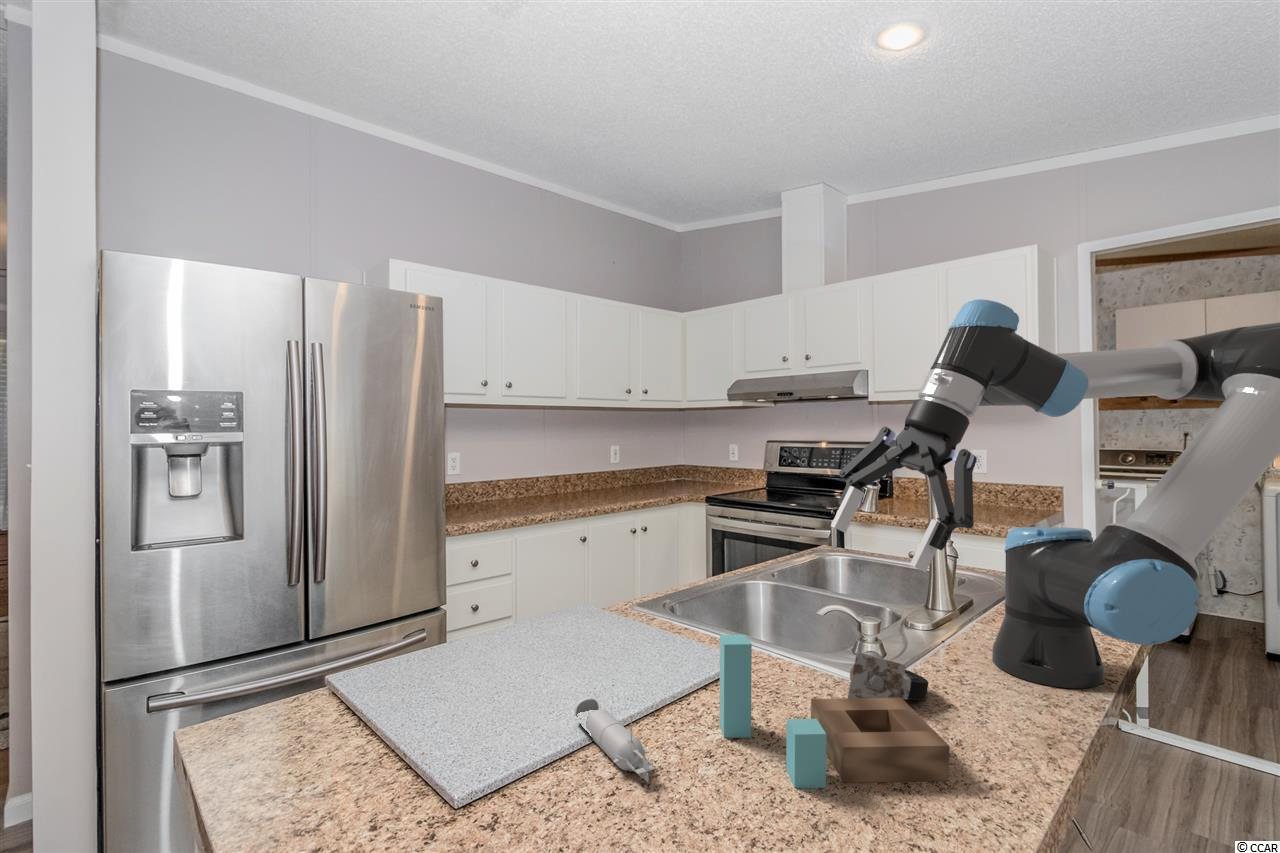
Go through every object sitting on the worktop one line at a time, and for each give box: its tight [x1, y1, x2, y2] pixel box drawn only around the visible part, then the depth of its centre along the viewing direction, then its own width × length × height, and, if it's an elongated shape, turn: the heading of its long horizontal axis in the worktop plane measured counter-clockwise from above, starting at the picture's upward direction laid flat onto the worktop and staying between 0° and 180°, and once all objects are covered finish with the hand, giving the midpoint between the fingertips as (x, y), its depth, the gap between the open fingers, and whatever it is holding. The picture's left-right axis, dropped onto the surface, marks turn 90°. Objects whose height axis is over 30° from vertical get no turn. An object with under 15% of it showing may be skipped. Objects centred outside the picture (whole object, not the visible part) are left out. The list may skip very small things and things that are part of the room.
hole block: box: [810, 697, 950, 784], centre depth 77 cm, size 12×12×4 cm
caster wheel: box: [847, 650, 929, 701], centre depth 93 cm, size 7×11×10 cm
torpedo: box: [574, 697, 655, 783], centre depth 78 cm, size 18×5×7 cm, turn 30°
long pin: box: [719, 634, 753, 739], centre depth 82 cm, size 4×4×12 cm
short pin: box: [785, 718, 827, 789], centre depth 72 cm, size 4×4×6 cm
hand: (875, 548), depth 87 cm, fingers open, 13 cm apart
